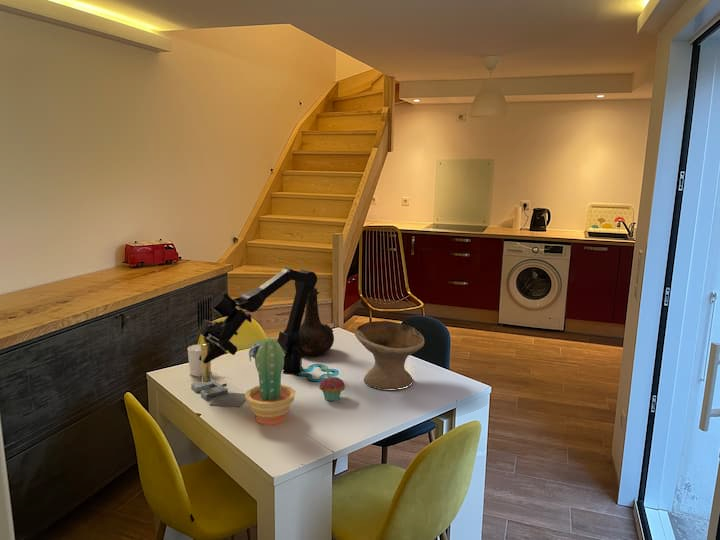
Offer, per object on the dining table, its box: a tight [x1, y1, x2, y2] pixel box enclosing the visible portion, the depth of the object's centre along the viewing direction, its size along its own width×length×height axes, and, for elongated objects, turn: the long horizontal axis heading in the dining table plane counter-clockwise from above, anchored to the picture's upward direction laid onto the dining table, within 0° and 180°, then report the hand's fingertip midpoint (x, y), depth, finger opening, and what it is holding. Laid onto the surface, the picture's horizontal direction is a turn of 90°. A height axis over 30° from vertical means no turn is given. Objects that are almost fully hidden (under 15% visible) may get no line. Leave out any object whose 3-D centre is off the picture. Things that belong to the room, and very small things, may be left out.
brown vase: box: [299, 287, 335, 357], centre depth 222 cm, size 18×18×28 cm
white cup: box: [187, 343, 202, 377], centre depth 197 cm, size 8×8×10 cm
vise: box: [190, 378, 229, 401], centre depth 181 cm, size 10×12×2 cm
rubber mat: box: [209, 392, 246, 408], centre depth 174 cm, size 10×10×1 cm
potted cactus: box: [244, 337, 296, 426], centre depth 159 cm, size 15×15×25 cm
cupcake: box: [318, 364, 346, 401], centre depth 176 cm, size 9×8×12 cm
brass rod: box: [200, 342, 212, 382], centre depth 178 cm, size 3×3×13 cm
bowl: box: [354, 320, 425, 390], centre depth 191 cm, size 26×25×20 cm
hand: (201, 361), depth 177 cm, fingers closed on brass rod, 3 cm apart
